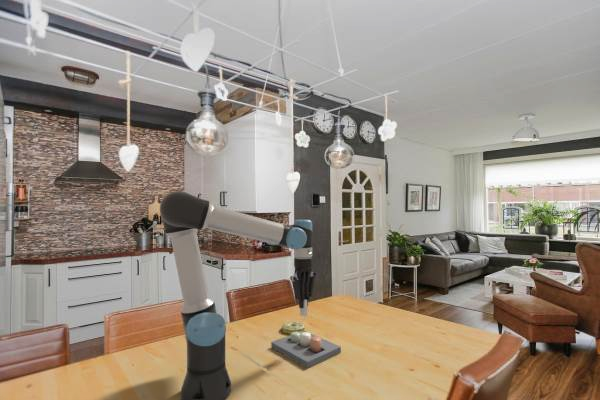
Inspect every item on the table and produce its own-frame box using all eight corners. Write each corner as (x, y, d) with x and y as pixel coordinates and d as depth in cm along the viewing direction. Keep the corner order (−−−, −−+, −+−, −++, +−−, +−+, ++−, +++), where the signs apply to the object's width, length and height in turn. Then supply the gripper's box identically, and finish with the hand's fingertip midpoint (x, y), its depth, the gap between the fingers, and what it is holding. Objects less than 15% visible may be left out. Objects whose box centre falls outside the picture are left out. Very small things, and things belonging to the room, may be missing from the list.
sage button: (295, 346, 126) (295, 337, 126) (288, 343, 130) (288, 333, 130) (303, 343, 129) (303, 334, 129) (296, 340, 133) (296, 330, 133)
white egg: (305, 347, 122) (305, 337, 122) (297, 344, 125) (297, 334, 125) (313, 344, 125) (313, 334, 125) (305, 340, 128) (305, 331, 128)
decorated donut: (308, 330, 147) (308, 322, 147) (297, 338, 138) (297, 330, 138) (289, 326, 152) (289, 318, 153) (277, 333, 143) (277, 325, 143)
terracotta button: (315, 353, 117) (315, 342, 117) (307, 349, 121) (307, 338, 121) (323, 349, 120) (323, 339, 120) (315, 345, 124) (315, 335, 124)
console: (307, 370, 111) (307, 362, 111) (271, 349, 127) (271, 342, 127) (340, 354, 123) (340, 346, 123) (303, 337, 139) (303, 330, 139)
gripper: (298, 260, 119) (298, 322, 119) (320, 256, 128) (321, 313, 128) (285, 258, 125) (285, 317, 124) (308, 254, 134) (308, 309, 133)
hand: (303, 315), depth 126 cm, fingers closed
